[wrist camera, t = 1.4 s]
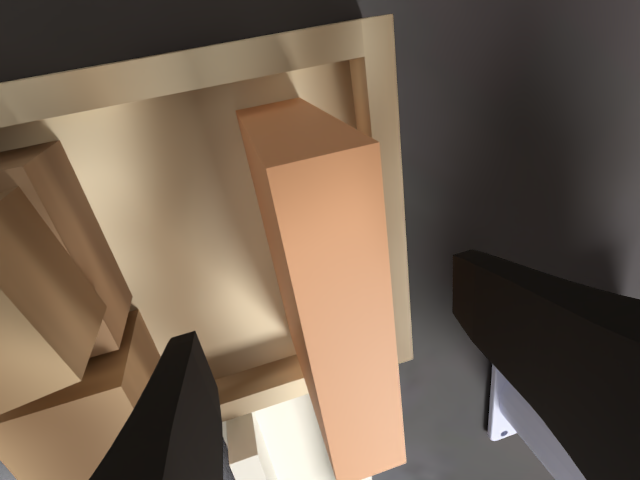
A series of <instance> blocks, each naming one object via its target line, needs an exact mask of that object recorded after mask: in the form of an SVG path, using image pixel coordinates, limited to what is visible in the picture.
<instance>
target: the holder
mask: <svg viewBox="0 0 640 480" xmlns="http://www.w3.org/2000/svg"><path fill="white" fill-rule="evenodd" d="M222 429H223V438H224V440H225V442H226V445H227V447H228V456H229V466H230V468H231V470H232V473H233V475H234V477H235V480H336V479H335V476H334V472H333V469H332V466H331V463H330V460H329V456H328V453H327V450H326V447H325V444H324V440H323V437H322V434H321V431H320V428H319V424H318V421H317V418H316V415H315V411H314V408H313V405H312V402H311V399H310V395H309V394H306V395H303V396H300V397H297V398H294V399H291V400H288V401H285V402H282V403H279V404H276V405H273V406H270V407H267V408H264V409H261V410H258V411H255V412H252V413H249V414H245V415H242V416H239V417H236V418H233V419H230V420H227V421H224V422H222ZM362 480H372V477H371V476H370V477H367V478H365V479H362Z"/></svg>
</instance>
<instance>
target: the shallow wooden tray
mask: <svg viewBox="0 0 640 480" xmlns="http://www.w3.org/2000/svg"><path fill="white" fill-rule="evenodd" d="M299 97H300V98H301V99H303V100H305V101H307V102H309V103H310V104H312V105H314V106H316V107H318V108H319V109H321V110H323V111H325V112H326V113H328V114H330V115H332V116H334V117H335V118H337V119H339V120H341V121H343V122H344V123H346V124H348V125H350V126H352V127H353V128H355V129H357V130H359V131H360V132H362V133H364V134H366V135H368V136H369V137H371V138H373V139H375V140H377V141H378V142H380V154H381V166H382V178H383V190H384V202H385V214H386V226H387V237H388V249H389V261H390V273H391V285H392V297H393V309H394V321H395V333H396V345H397V356H398V364H400V363H403V362H406V361H409V360H412V359H413V346H412V329H411V312H410V295H409V278H408V261H407V244H406V227H405V210H404V193H403V176H402V159H401V142H400V125H399V108H398V91H397V74H396V57H395V40H394V23H393V14H388V15H380V16H373V17H366V18H360V19H354V20H349V21H343V22H338V23H332V24H326V25H321V26H315V27H310V28H304V29H298V30H293V31H287V32H282V33H276V34H270V35H265V36H259V37H253V38H248V39H242V40H237V41H231V42H225V43H220V44H214V45H209V46H203V47H197V48H192V49H186V50H181V51H175V52H169V53H164V54H158V55H153V56H147V57H141V58H136V59H130V60H124V61H119V62H113V63H108V64H102V65H96V66H91V67H85V68H80V69H74V70H68V71H63V72H57V73H52V74H46V75H40V76H35V77H29V78H24V79H18V80H12V81H7V82H1V83H0V152H2V151H7V150H12V149H17V148H22V147H27V146H32V145H37V144H42V143H47V142H52V141H56V140H60V141H61V144H62V146H63V148H64V150H65V152H66V154H67V157H68V159H69V161H70V163H71V165H72V167H73V169H74V172H75V174H76V176H77V178H78V180H79V182H80V184H81V187H82V189H83V191H84V193H85V195H86V197H87V199H88V202H89V204H90V206H91V208H92V210H93V212H94V215H95V217H96V219H97V221H98V223H99V225H100V227H101V230H102V232H103V234H104V236H105V238H106V240H107V242H108V245H109V247H110V249H111V251H112V253H113V255H114V257H115V260H116V262H117V264H118V266H119V268H120V270H121V273H122V275H123V277H124V279H125V281H126V283H127V285H128V288H129V290H130V292H131V294H132V296H133V297H132V301H131V305H130V309H129V312H130V311H133V310H137V309H139V311H140V313H141V315H142V318H143V320H144V322H145V324H146V326H147V328H148V330H149V333H150V335H151V337H152V339H153V341H154V343H155V346H156V348H157V350H158V352H159V354H160V356H161V355H162V353H163V351H164V349H165V347H166V345H167V343H168V342H169V340H170V338H172V337H175V336H179V335H182V334H186V333H189V332H192V331H196V334H197V336H198V339H199V341H200V344H201V346H202V349H203V351H204V354H205V356H206V359H207V362H208V364H209V367H210V369H211V372H212V374H213V377H214V379H215V382H216V384H217V387H218V394H219V401H220V409H221V417H222V422H224V421H227V420H230V419H233V418H236V417H239V416H242V415H245V414H249V413H252V412H255V411H258V410H261V409H264V408H267V407H270V406H273V405H276V404H279V403H282V402H285V401H288V400H291V399H294V398H297V397H300V396H303V395H306V394H309V392H308V389H307V386H306V383H305V379H304V376H303V373H302V370H301V367H300V363H299V360H298V357H297V354H296V351H295V347H294V344H293V341H292V338H291V334H290V330H289V326H288V322H287V317H286V313H285V309H284V305H283V301H282V297H281V293H280V289H279V285H278V281H277V277H276V273H275V269H274V265H273V261H272V257H271V253H270V249H269V245H268V241H267V237H266V233H265V229H264V224H263V220H262V216H261V212H260V208H259V204H258V200H257V196H256V192H255V188H254V184H253V180H252V176H251V172H250V168H249V164H248V160H247V156H246V152H245V148H244V144H243V140H242V136H241V131H240V127H239V123H238V119H237V115H236V110H240V109H245V108H250V107H255V106H260V105H265V104H270V103H274V102H279V101H284V100H289V99H294V98H299Z"/></svg>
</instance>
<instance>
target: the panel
mask: <svg viewBox="0 0 640 480" xmlns="http://www.w3.org/2000/svg"><path fill="white" fill-rule="evenodd" d="M236 115H237V119H238V123H239V127H240V131H241V136H242V140H243V144H244V148H245V152H246V156H247V160H248V164H249V168H250V172H251V176H252V180H253V184H254V188H255V192H256V196H257V200H258V204H259V208H260V212H261V216H262V220H263V224H264V229H265V233H266V237H267V241H268V245H269V249H270V253H271V257H272V261H273V265H274V269H275V273H276V277H277V281H278V285H279V289H280V293H281V297H282V301H283V305H284V309H285V313H286V317H287V322H288V326H289V330H290V334H291V338H292V341H293V344H294V347H295V351H296V354H297V357H298V360H299V363H300V367H301V370H302V373H303V376H304V379H305V383H306V386H307V389H308V392H309V395H310V399H311V402H312V405H313V408H314V411H315V415H316V418H317V421H318V424H319V428H320V431H321V434H322V437H323V440H324V444H325V447H326V450H327V453H328V456H329V460H330V463H331V466H332V469H333V472H334V476H335V479H336V480H362V479H365V478H367V477H370V476H373V475H375V474H378V473H381V472H384V471H386V470H389V469H392V468H394V467H397V466H400V465H402V464H405V463H406V452H405V440H404V428H403V416H402V404H401V392H400V380H399V368H398V356H397V345H396V333H395V321H394V309H393V297H392V285H391V273H390V261H389V249H388V237H387V226H386V214H385V202H384V190H383V178H382V166H381V154H380V142H378V141H377V140H375V139H373V138H371V137H369V136H368V135H366V134H364V133H362V132H360V131H359V130H357V129H355V128H353V127H352V126H350V125H348V124H346V123H344V122H343V121H341V120H339V119H337V118H335V117H334V116H332V115H330V114H328V113H326V112H325V111H323V110H321V109H319V108H318V107H316V106H314V105H312V104H310V103H309V102H307V101H305V100H303V99H301V98H300V97H299V98H294V99H289V100H284V101H279V102H274V103H270V104H265V105H260V106H255V107H250V108H245V109H240V110H236Z"/></svg>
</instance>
